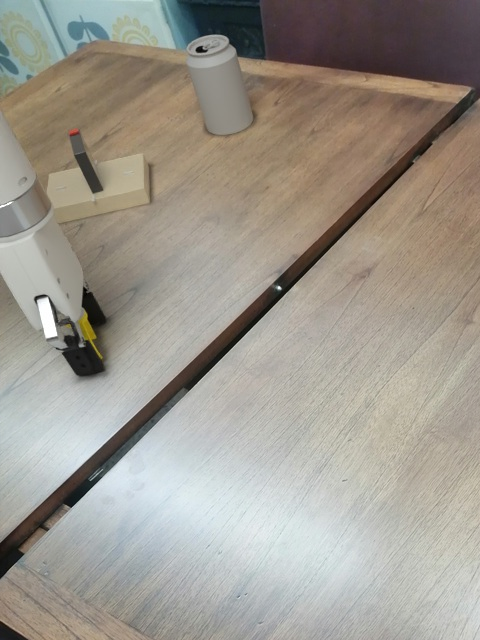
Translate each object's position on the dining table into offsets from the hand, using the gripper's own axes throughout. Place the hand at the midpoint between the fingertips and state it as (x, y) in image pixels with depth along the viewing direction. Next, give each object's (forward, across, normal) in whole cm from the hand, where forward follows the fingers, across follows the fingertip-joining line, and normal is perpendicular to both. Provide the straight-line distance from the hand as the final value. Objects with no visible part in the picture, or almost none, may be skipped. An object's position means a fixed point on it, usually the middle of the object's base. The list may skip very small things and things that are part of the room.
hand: (92, 346), depth 80 cm
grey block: (-2, -34, 0) cm, 34 cm away
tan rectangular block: (+1, -34, 0) cm, 34 cm away
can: (+1, -47, +20) cm, 51 cm away
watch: (+1, 0, 0) cm, 1 cm away
